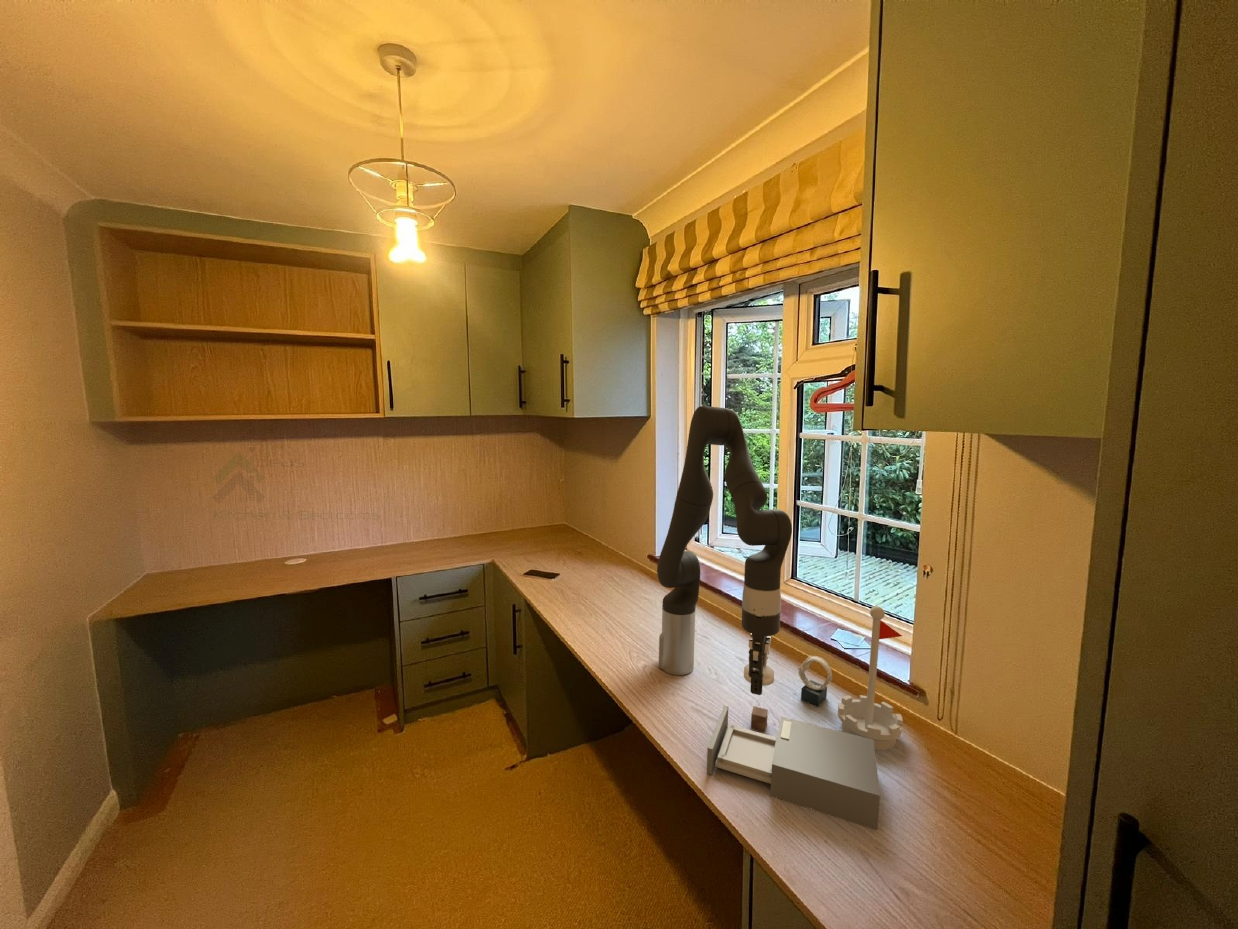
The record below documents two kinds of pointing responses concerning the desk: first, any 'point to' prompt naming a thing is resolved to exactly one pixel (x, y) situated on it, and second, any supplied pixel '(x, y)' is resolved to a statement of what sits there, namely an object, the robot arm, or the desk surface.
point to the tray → (740, 750)
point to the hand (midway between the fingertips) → (758, 685)
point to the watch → (814, 690)
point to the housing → (826, 771)
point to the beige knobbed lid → (767, 677)
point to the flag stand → (872, 698)
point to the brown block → (759, 718)
